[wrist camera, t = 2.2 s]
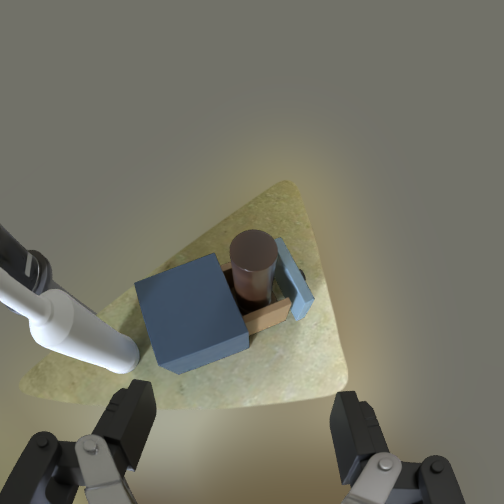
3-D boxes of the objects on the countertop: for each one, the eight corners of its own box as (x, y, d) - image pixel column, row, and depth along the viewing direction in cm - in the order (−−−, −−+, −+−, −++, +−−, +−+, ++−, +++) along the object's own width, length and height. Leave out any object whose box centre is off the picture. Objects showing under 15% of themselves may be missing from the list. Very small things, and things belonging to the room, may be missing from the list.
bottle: (148, 360, 34) (15, 280, 12) (118, 382, 33) (-33, 327, 11) (128, 329, 36) (3, 222, 14) (99, 349, 35) (-41, 266, 13)
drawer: (285, 259, 40) (290, 233, 34) (313, 313, 37) (324, 294, 31) (217, 286, 38) (211, 262, 33) (242, 344, 35) (239, 331, 29)
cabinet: (221, 282, 40) (214, 252, 32) (249, 347, 35) (248, 331, 28) (155, 307, 38) (133, 282, 30) (178, 374, 34) (158, 365, 26)
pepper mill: (235, 317, 35) (227, 271, 24) (237, 285, 37) (230, 228, 26) (269, 318, 35) (278, 273, 24) (270, 287, 37) (278, 229, 26)
